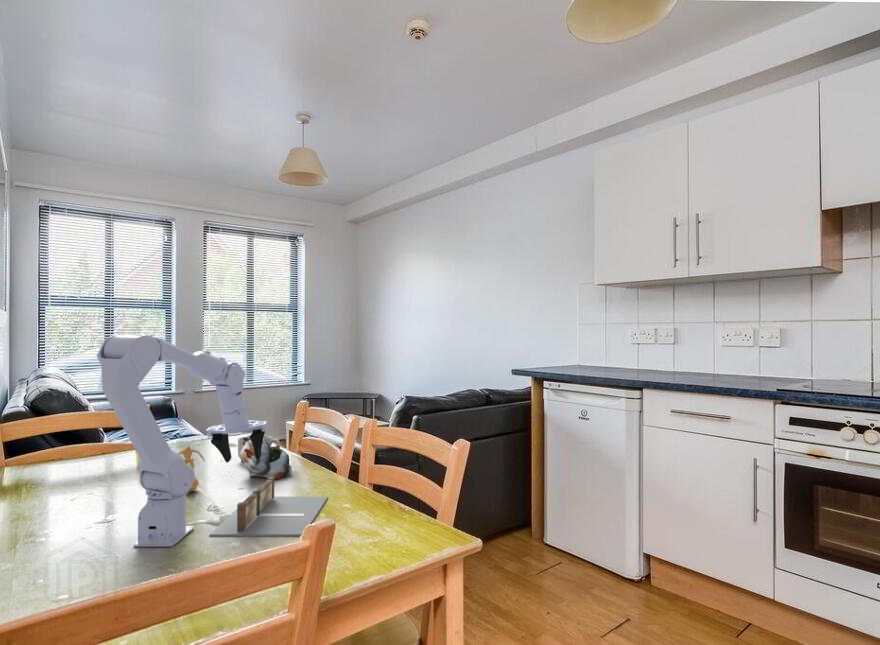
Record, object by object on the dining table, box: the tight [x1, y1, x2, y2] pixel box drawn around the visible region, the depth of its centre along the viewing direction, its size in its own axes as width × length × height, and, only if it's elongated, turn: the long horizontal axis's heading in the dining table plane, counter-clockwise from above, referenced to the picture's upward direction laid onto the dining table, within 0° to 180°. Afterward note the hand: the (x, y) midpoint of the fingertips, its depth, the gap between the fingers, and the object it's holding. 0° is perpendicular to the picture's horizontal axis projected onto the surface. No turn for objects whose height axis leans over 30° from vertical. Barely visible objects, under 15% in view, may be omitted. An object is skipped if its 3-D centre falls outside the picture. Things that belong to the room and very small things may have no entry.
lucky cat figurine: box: [240, 438, 292, 480], centre depth 150 cm, size 15×12×14 cm
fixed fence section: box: [236, 489, 260, 532], centre depth 114 cm, size 10×2×6 cm, turn 0°
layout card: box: [208, 496, 329, 537], centre depth 119 cm, size 24×20×1 cm
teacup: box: [237, 435, 281, 460], centre depth 167 cm, size 14×11×8 cm
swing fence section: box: [256, 477, 275, 511], centre depth 124 cm, size 10×1×5 cm, turn 0°
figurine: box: [177, 445, 206, 493], centre depth 137 cm, size 8×6×12 cm
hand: (243, 459), depth 127 cm, fingers open, 7 cm apart
